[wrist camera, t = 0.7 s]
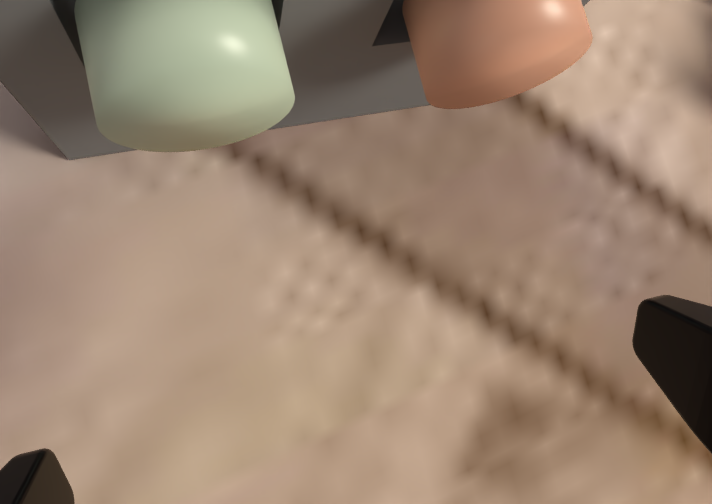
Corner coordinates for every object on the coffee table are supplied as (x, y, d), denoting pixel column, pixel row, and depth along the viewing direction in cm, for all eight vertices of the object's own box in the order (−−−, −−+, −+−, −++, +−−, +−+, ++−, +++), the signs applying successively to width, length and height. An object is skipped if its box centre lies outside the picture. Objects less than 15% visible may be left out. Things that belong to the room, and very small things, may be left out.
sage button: (285, 136, 15) (307, 54, 11) (118, 162, 14) (70, 83, 10) (265, 53, 15) (278, -57, 11) (100, 73, 14) (45, -42, 10)
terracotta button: (532, 97, 17) (631, 16, 13) (404, 117, 16) (467, 35, 12) (510, 24, 17) (600, -78, 13) (383, 39, 16) (437, -68, 12)
